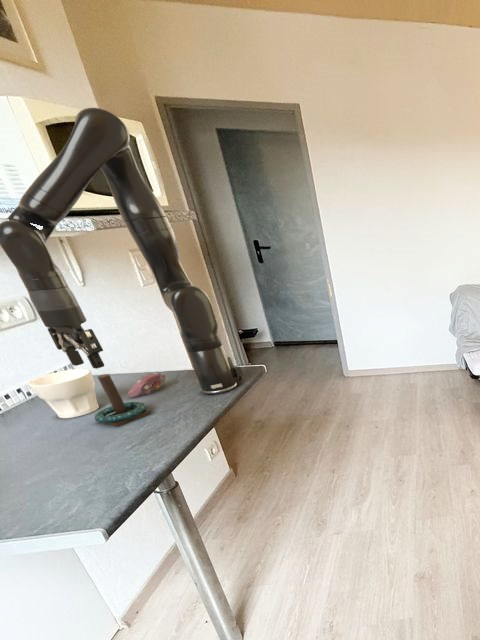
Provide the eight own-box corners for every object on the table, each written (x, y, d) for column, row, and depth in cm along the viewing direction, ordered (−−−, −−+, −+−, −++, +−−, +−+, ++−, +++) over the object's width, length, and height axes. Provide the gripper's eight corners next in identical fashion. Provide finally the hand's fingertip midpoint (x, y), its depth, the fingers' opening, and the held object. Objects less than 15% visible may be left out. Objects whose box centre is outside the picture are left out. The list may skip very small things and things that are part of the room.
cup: (94, 417, 117) (75, 381, 113) (37, 425, 113) (14, 388, 109) (116, 399, 128) (99, 366, 123) (64, 406, 124) (45, 372, 119)
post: (131, 410, 121) (111, 369, 115) (150, 413, 119) (130, 371, 113) (98, 422, 114) (75, 379, 109) (117, 426, 112) (95, 383, 106)
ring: (130, 404, 122) (127, 399, 122) (156, 408, 120) (153, 403, 119) (86, 421, 113) (83, 415, 112) (114, 425, 110) (110, 420, 110)
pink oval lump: (141, 402, 129) (143, 384, 126) (126, 396, 128) (127, 378, 126) (167, 389, 138) (169, 372, 135) (153, 384, 137) (154, 366, 135)
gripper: (94, 304, 105) (122, 363, 112) (58, 301, 109) (88, 359, 116) (56, 311, 99) (89, 373, 106) (20, 308, 103) (54, 368, 110)
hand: (88, 366), depth 111 cm, fingers open, 8 cm apart
